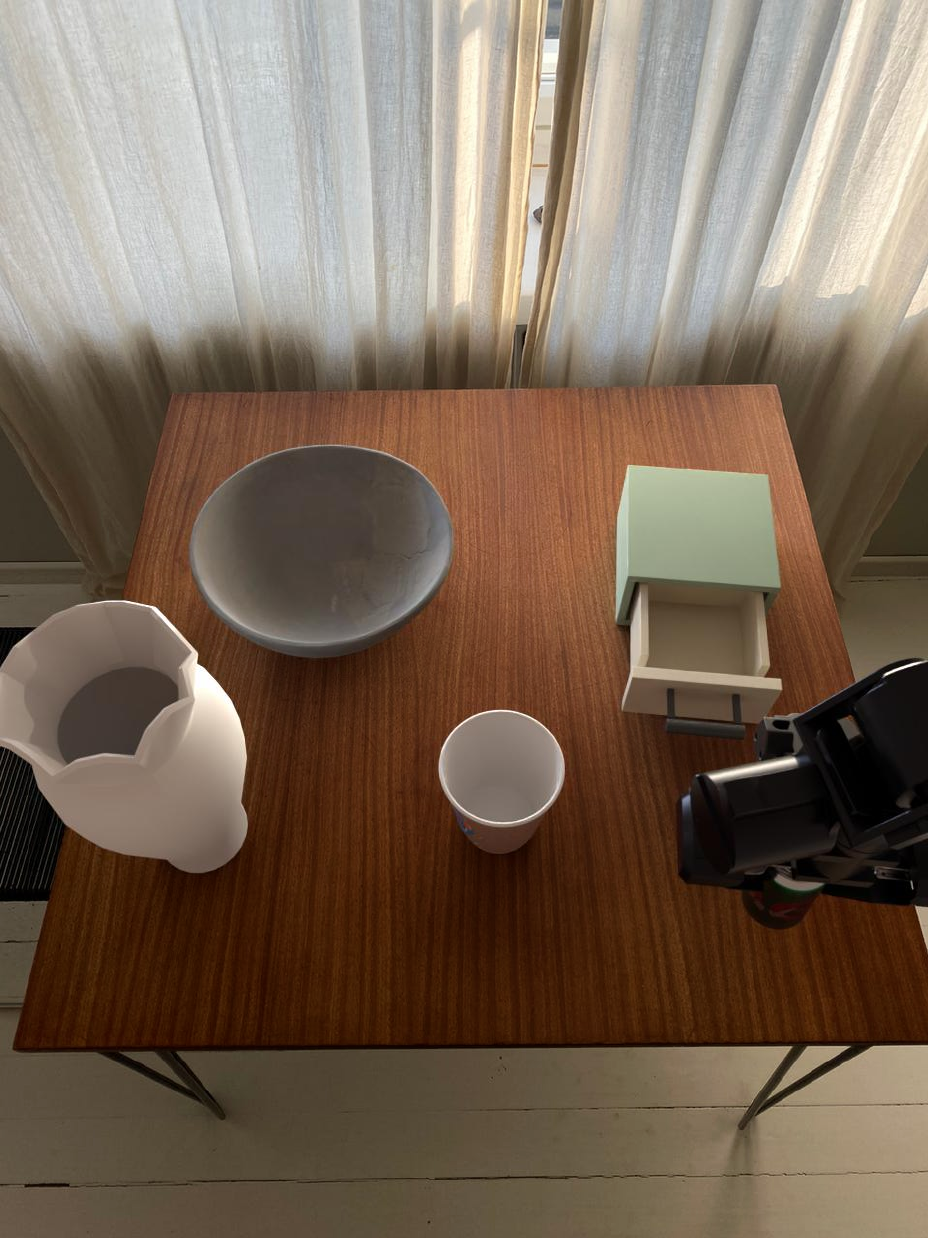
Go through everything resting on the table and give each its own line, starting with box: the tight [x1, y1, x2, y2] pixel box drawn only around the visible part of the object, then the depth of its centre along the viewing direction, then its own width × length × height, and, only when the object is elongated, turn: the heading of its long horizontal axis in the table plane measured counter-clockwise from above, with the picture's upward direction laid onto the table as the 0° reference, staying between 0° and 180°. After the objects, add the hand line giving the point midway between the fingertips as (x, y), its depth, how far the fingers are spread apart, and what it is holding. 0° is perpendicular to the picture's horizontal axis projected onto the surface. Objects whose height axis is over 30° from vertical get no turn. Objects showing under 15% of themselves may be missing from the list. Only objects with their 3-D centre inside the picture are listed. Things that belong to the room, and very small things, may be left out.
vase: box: [0, 600, 249, 874], centre depth 69 cm, size 15×15×29 cm
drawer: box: [621, 582, 783, 741], centre depth 85 cm, size 18×14×7 cm
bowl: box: [189, 444, 455, 659], centre depth 91 cm, size 26×26×10 cm
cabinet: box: [615, 464, 782, 627], centre depth 93 cm, size 15×15×9 cm
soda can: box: [740, 867, 826, 931], centre depth 65 cm, size 5×5×12 cm
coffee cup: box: [438, 709, 566, 855], centre depth 76 cm, size 10×10×12 cm
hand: (782, 883), depth 66 cm, fingers closed on soda can, 5 cm apart
